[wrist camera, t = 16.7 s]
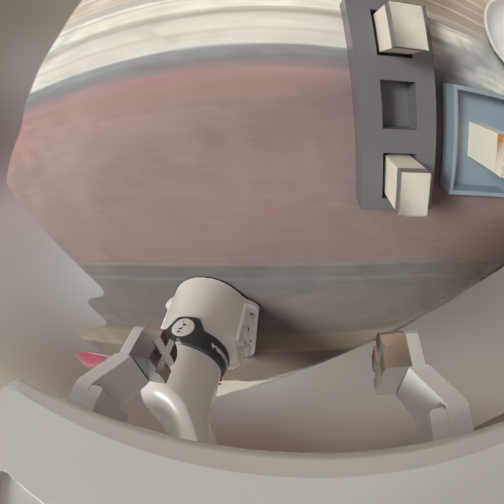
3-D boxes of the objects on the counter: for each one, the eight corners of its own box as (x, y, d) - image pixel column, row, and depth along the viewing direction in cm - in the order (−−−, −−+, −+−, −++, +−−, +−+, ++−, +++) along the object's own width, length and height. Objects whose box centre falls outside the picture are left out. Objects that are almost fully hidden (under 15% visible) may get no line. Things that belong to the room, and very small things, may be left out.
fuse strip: (420, 197, 36) (430, 209, 33) (356, 197, 38) (361, 209, 35) (413, 11, 22) (424, 6, 18) (339, 5, 24) (343, -3, 21)
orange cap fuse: (485, 157, 29) (519, 179, 22) (467, 155, 30) (500, 177, 23) (487, 124, 27) (523, 140, 19) (469, 121, 28) (504, 136, 20)
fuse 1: (400, 55, 25) (428, 50, 18) (374, 53, 26) (396, 46, 19) (395, 20, 23) (421, 6, 15) (369, 18, 23) (388, 1, 16)
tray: (497, 188, 32) (509, 197, 29) (439, 184, 34) (448, 194, 32) (504, 96, 24) (517, 99, 21) (441, 82, 26) (453, 84, 24)
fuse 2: (403, 186, 35) (426, 216, 28) (380, 186, 36) (398, 216, 28) (405, 151, 32) (431, 173, 25) (381, 151, 33) (401, 172, 26)
